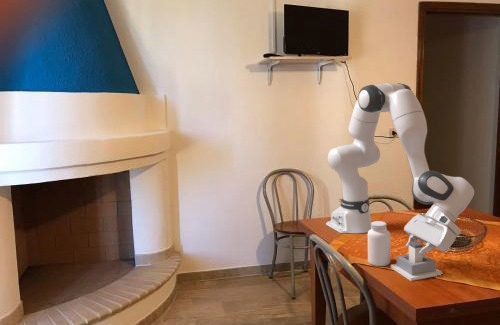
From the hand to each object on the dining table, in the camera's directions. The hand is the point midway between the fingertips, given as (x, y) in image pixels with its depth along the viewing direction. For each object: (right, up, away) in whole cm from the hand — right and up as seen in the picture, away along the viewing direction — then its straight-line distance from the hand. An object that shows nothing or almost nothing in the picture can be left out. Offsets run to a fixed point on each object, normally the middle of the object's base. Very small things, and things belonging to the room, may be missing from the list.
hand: (413, 251), depth 148 cm
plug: (+1, -6, +1) cm, 6 cm away
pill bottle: (-9, -7, +11) cm, 15 cm away
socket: (+1, -7, +1) cm, 7 cm away
